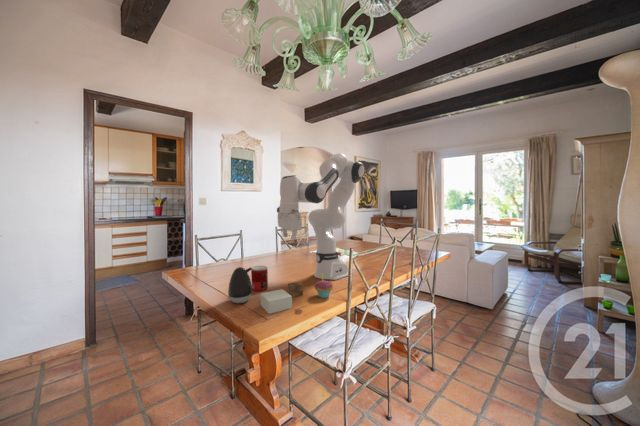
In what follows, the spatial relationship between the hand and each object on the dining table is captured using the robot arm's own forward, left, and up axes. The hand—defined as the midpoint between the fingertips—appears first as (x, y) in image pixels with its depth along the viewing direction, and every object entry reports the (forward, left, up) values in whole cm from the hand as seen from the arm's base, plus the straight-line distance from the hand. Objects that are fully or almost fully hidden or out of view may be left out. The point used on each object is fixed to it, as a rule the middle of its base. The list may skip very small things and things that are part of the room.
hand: (289, 238), depth 121 cm
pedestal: (+12, +12, -26) cm, 31 cm away
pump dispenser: (+23, -2, -27) cm, 35 cm away
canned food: (+11, -12, -27) cm, 31 cm away
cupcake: (-11, +13, -27) cm, 32 cm away
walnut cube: (-1, +4, -26) cm, 27 cm away
